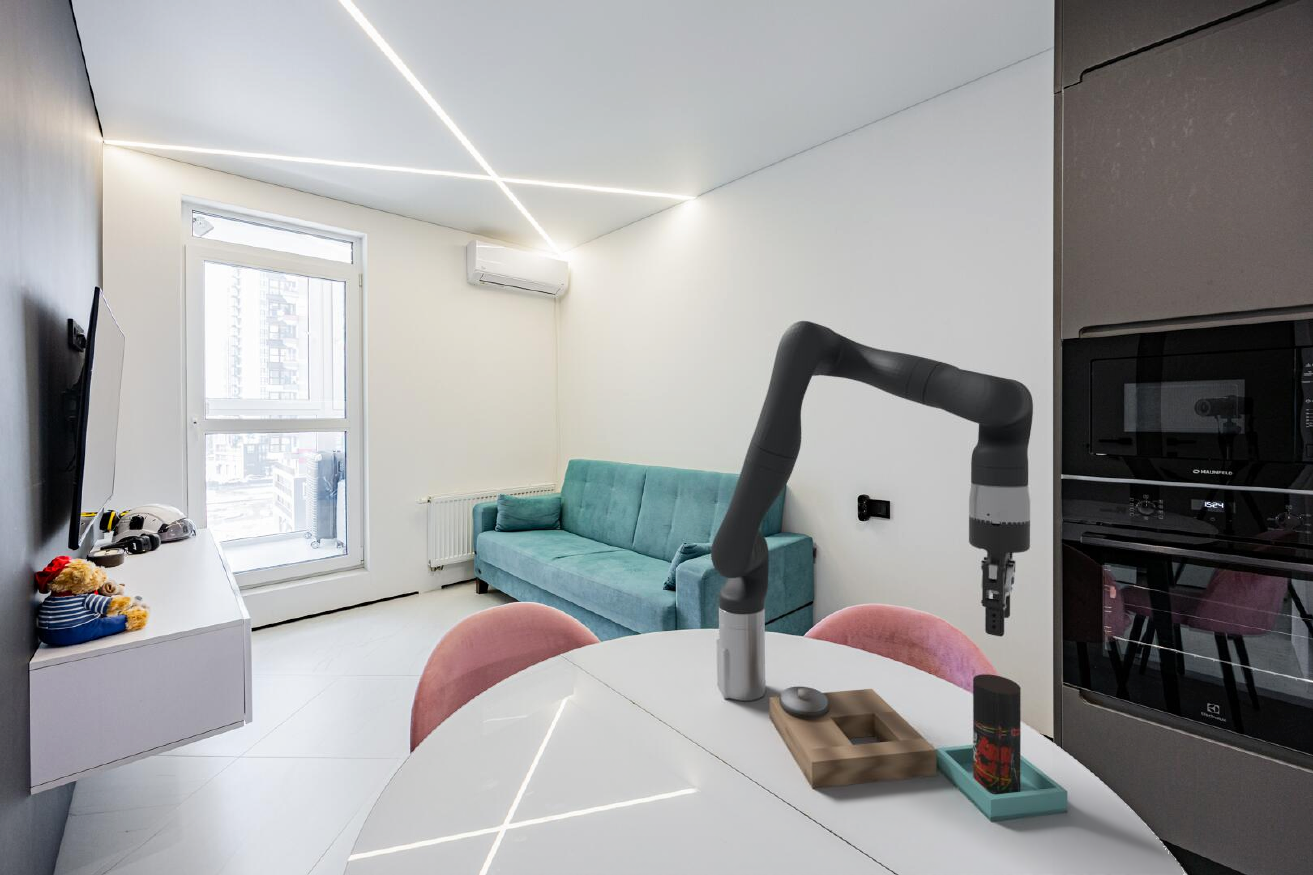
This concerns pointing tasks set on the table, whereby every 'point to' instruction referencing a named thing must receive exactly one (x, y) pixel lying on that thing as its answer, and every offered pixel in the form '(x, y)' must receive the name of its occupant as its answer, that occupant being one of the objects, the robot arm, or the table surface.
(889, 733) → the block
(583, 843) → the table surface
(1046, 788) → the tray
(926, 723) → the table surface
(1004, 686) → the deodorant
